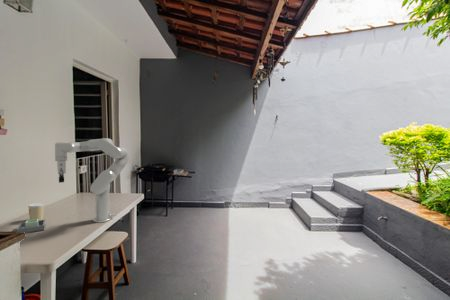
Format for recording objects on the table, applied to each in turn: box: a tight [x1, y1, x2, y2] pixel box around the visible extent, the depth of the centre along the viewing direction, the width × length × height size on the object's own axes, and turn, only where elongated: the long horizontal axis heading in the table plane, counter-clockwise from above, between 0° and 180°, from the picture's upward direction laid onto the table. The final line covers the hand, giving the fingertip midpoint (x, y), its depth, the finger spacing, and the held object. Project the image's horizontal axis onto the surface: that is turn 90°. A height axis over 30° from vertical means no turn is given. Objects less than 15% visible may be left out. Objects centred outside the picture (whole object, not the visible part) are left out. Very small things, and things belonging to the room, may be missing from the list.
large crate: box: [16, 219, 46, 234], centre depth 163 cm, size 14×14×4 cm
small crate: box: [25, 219, 38, 228], centre depth 163 cm, size 6×6×5 cm
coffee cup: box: [28, 202, 45, 220], centre depth 180 cm, size 9×9×12 cm
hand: (61, 181), depth 179 cm, fingers open, 9 cm apart
